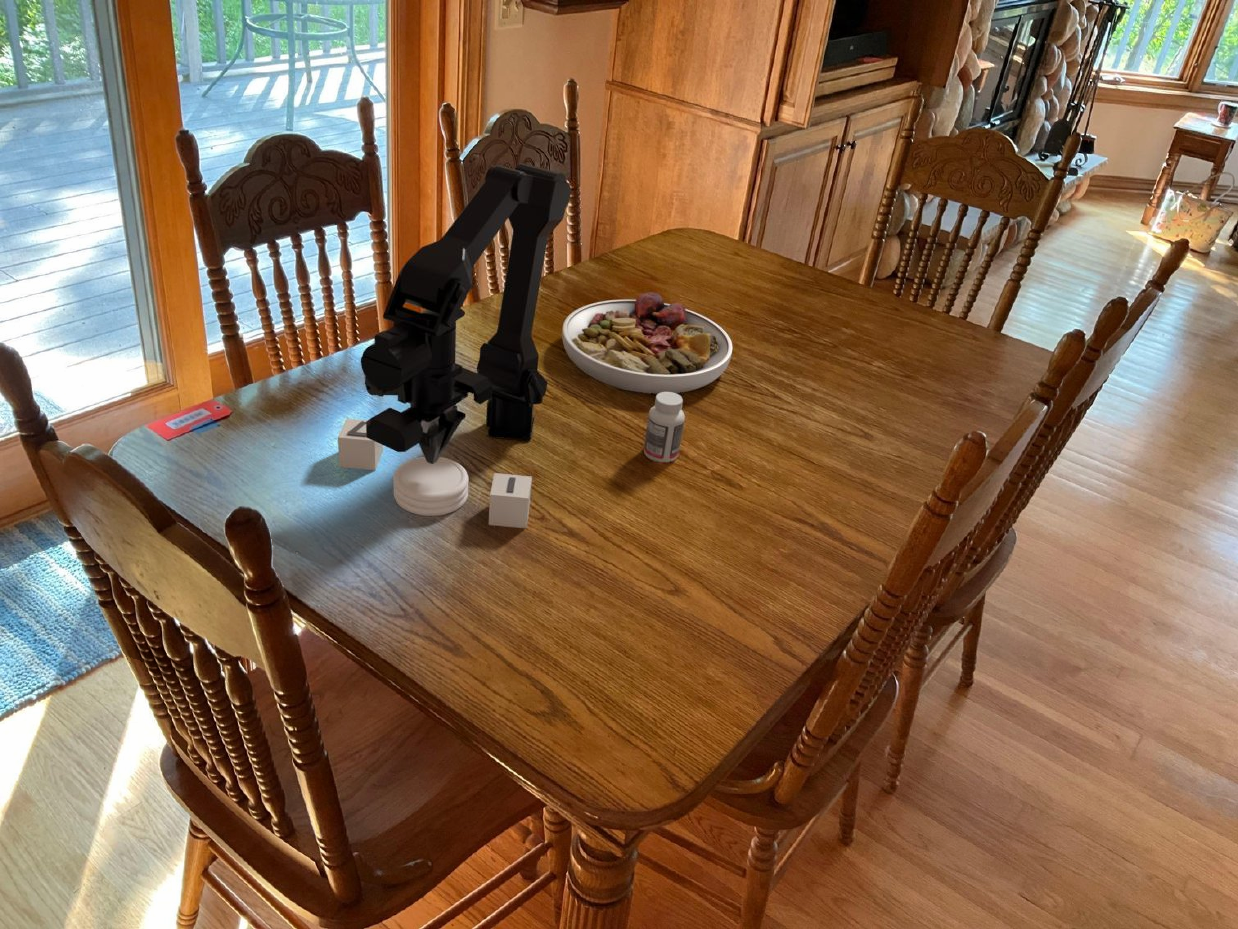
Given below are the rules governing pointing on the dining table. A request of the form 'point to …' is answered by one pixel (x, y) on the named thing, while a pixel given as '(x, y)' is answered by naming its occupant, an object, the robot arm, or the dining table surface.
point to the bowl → (646, 345)
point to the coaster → (430, 486)
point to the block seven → (357, 446)
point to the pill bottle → (664, 428)
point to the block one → (510, 500)
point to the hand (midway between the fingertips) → (431, 462)
